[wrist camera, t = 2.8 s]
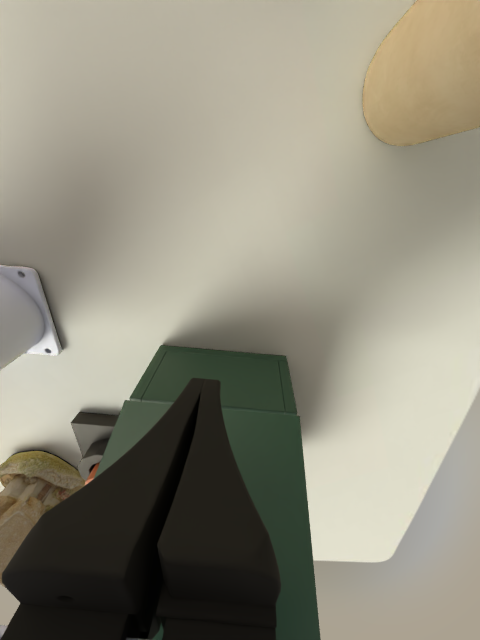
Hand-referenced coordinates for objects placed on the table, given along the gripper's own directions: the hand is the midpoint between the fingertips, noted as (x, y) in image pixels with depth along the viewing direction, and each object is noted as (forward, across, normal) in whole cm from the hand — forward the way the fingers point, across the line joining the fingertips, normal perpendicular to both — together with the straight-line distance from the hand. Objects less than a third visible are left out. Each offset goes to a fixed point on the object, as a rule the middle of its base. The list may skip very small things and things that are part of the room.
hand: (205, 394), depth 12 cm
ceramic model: (+10, +22, +28) cm, 36 cm away
